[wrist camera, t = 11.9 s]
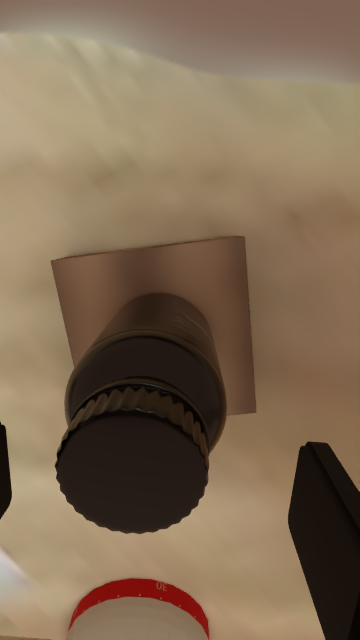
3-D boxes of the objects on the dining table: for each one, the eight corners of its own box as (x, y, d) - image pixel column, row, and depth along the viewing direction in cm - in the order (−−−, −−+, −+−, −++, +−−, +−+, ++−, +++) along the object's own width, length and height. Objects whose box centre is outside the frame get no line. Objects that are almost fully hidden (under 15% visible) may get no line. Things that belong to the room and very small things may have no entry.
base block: (236, 235, 22) (244, 236, 20) (248, 392, 26) (256, 412, 23) (67, 256, 23) (50, 260, 20) (98, 407, 26) (88, 429, 23)
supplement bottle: (96, 304, 21) (-16, 395, 9) (200, 280, 20) (221, 345, 9) (124, 398, 23) (61, 574, 11) (221, 378, 22) (261, 541, 10)
